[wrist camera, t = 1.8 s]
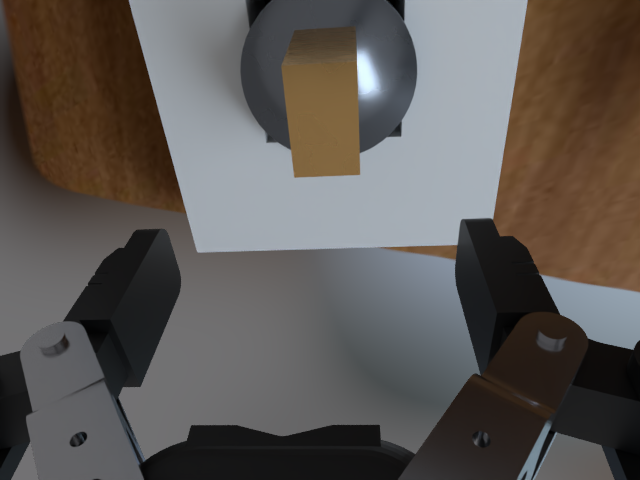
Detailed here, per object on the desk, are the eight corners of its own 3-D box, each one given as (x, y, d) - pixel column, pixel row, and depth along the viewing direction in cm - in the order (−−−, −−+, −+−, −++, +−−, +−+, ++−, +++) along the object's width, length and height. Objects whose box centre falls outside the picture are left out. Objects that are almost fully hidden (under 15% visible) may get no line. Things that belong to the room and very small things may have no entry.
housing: (125, -188, 25) (72, -205, 20) (523, -229, 24) (568, -259, 19) (216, 207, 39) (197, 252, 34) (470, 197, 38) (489, 243, 33)
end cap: (247, -31, 28) (193, 14, 18) (408, -43, 28) (441, -4, 18) (268, 120, 34) (235, 218, 24) (403, 113, 33) (427, 211, 23)
